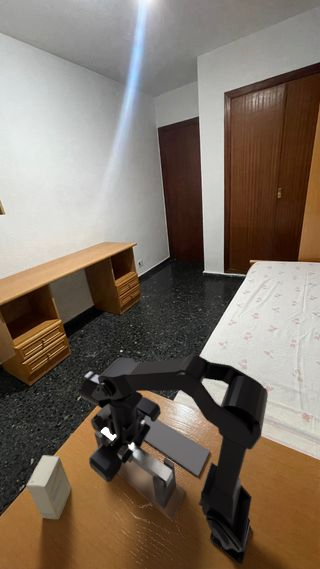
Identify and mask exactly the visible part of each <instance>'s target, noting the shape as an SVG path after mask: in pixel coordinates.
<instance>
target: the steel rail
mask: <svg viewBox="0 0 320 569" xmlns="http://www.w3.org/2000/svg"><path fill="white" fill-rule="evenodd" d="M99 433H101V434H102V435H103V438H104V439H105V440H106V441H107V442H109V443H110V442H111V441H112V440H113V439H114V438H115V437H116V435H115V434H114V435H113V436H112V435H111V434H110V433H109V430H108V429H107V428H105V429H103V430H102V431H101V432H99ZM128 446H129V449H131V450H132V451H133V458H132V461H133V462H134V463H136V464H137V465H138V466H140V467H141V468H142V469H143V470H145V471H146V472H147V473H149V474H150V475H151V476H152V477H154V475H155V476H156V477H158V478H159V479H160V480H162V481H163V482H164V486H165V487H168V485H169V483H170V482H171V480H172V478H173V473H172V470H171V469H170V468H168V467H167V466H165V465H164V462H161V461H160V460H158V459H157V458H156V457H154V456H153V455H151V454H150V453H149V452H148V451H146V450H144V449H143V448H142V447H141V448H140V447H139V446H138V445H136V444H135V443H132V444H131V445H128Z"/></svg>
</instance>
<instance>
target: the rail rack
mask: <svg viewBox="0 0 320 569" xmlns="http://www.w3.org/2000/svg"><path fill="white" fill-rule="evenodd" d="M94 437H95V441H96V444H97V446H96V448H95V449H94V450H93V453H94V452H95V451H96V450H97V449H98V447H99V446H100V445H101V444H104V445H106V446H108V445H109V444H110V443H109V442H107V441H106V440H105V439H104V438H103V435H102V434H101V433H99V432H98V431H96V430H95V432H94ZM162 463H163V464H164V465H165V466H167V467H168V468H170V469H171V470H172V473H173V478H172V480H171V482H170V483H169V485H168V487H165V486H164V482H163V481H162V480H160V479H159V478H158V477H156V476H155V475H154V477H152V476H151V475H150V474H149V473H147V472H146V471H145V470H143V469H142V468H141V467H140V466H138V465H137V464H136V463H134V462H133V461H131V463H130V462H128V461H127V462H126V463H125V464H123V463H122V465H121V468H120V470H119V471H118V473H117V474H116V475H118V476H119V477H120V478H121V479H123V481H125V482H126V483H127V484H128V485H129V486H130V487H132V489H134V490H135V491H136V492H137V493H139V494H140V496H142V497H143V498H144V499H146V500H147V501H148V502H149V503H150V504H151V505H152V506H153V507H155V508H156V509H157V510H158V511H160V513H162V515H164V516H165V517H166V518H167V519H169V520H170V521H171V522H174V520H175V518H176V515H177V514H178V511H179V509H180V507H181V505H182V503H183V500H184V498H185V496H186V494H187V490H186V489H185V488H184V487H182V486H181V485H179V484H178V483H177V481H176V478H177V477H176V470H175V463H174V461H171V460H169V459H168V458H167V457H164V458H163V462H162Z"/></svg>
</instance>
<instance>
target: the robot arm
mask: <svg viewBox="0 0 320 569" xmlns="http://www.w3.org/2000/svg"><path fill="white" fill-rule="evenodd" d="M83 379H84V381H83V382H82V384H81V386H80V392H79V396H80V397H81V398H82V399H84V400H86V401H87V402H90V403H91V404H93V405H95V406H97V407H99V408H100V409H99V410H98V412H96V414H95V415H94V416H93V417H91V419H90V423H91V426H92V428H93V429H94V431H95V432H96V431H98V432H101V431H102V430H103V429H105V428H107V429H108V430H109V433H110V434H111V435H112V436H113V435H114V434H115V435H116V437H115V438H114V439H113V440H112V441H111V442H110V444H109V445H108V446H106V445H104V444H101V445H100V446H99V447H98V449H97V450H96V451H95V452H93V453H92V454H91V455H90V457H89V458H88V459H89V462H88V464H89V466H90V468H91V469H92V470H93V471H94V472H95V473H96V474H97V475H99V476H100V477H101V478H102V479H103V480H104V481H105V482H106V483H110V482H111V483H112V481H113V479H114V478H115V477H116V475H118V474H117V473H118V471H119V470H120V468H121V465H122V463H123V464H125V463H126V462H127V461H128V462H130V463H131V461H132V458H133V451H132V450H131V449H129V446H128V445H131V444H132V443H135V444H136V445H138V446H139V447H140V448H142V446H143V443H145V438H146V436H147V434H148V432H149V431H150V426H149V425H147V424H146V422H145V419H144V418H145V417H146V415H147V416H148V417H150V418H151V421H152V422H155V421H156V419H158V418H159V417H160V415H161V413H162V412H161V406H160V405H159V403H157V402H155V401H153V400H152V399H150V398H148V397H145V396H143V395H142V393H141V392H145V391H147V392H149V391H150V392H153V391H154V392H155V391H157V392H158V391H159V392H160V391H162V392H163V391H166V392H167V391H171V392H172V391H175V392H177V391H180V392H183V393H184V394H185V395H187V396H189V398H192V400H193V402H194V403H195V405H196V407H197V408H198V409H199V411H200V412H201V414H202V416H203V418H205V420H206V421H207V422H209V423H210V424H212V425H213V426H215V427H216V428H217V430H218V433H219V435H220V436H221V437H222V440H221V445H220V451H219V455H218V460H217V464H215V463H214V462H212V461H211V462H210V464H209V468H208V471H207V474H206V476H205V480H204V482H203V486H202V489H201V491H200V500H199V503H198V505H199V506H200V507H201V511H202V513H203V515H204V516H205V521H206V522H207V524H208V527H209V528H210V530H211V532H210V535H209V539H210V541H211V543H213V544H214V545H215V546H216V547H217V548H219V549H220V550H221V551H223V552H224V553H225V554H226V555H228V556H229V557H230V558H231V559H233V560H234V561H235V562H236V563H237V564H239V565H240V566H242V565H243V563H244V562H243V561H244V558H245V554H246V550H247V545H248V541H249V537H250V533H251V518H249V516H250V509H251V504H252V503H251V502H252V496H251V495H250V493H249V492H248V491H247V490H246V489H245V487H244V486H243V484H241V482H242V481H241V478H240V475H241V470H242V467H243V464H244V460H245V456H246V453H247V451H248V450H250V451H251V450H252V449H253V448H254V447H255V445H257V443H258V442H259V440H260V438H261V437H262V432H263V428H264V420H265V414H266V408H267V402H268V398H269V393H268V389H267V388H265V387H264V385H262V383H260V382H259V381H258V380H256V379H255V378H253V377H251V376H249V375H248V374H246V373H245V372H243V371H241V370H239V369H237V368H236V367H234V366H232V365H230V364H225V363H224V364H223V363H218V362H212V361H209V360H207V359H206V358H204V357H202V356H200V355H198V354H190V355H188V356H187V357H179V358H172V359H171V358H170V359H162V360H154V361H147V362H146V361H145V362H136V360H135V359H134V358H132V357H131V358H130V357H118V358H117V359H115V360H114V361H113V362H112V363H111V364H110V365H109V366H108V367H107V368H106V369H105V370H104V371H103V372H102V373H101V374H100V375H99V374H96V373H95V372H94V371H91V370H90V371H89V372H87V373H86V374H85V375H84V376H83ZM204 379H206V380H211V381H219V382H223V383H225V384H226V385H227V387H226V390H225V392H224V393H225V394H224V395H223V398H222V401H221V403H220V405H219V404H218V403H217V402H216V401H215V399H214V398H213V397H212V395H211V393H210V392H209V391H208V390H207V388H206V387H205V386H204V384H203V381H204ZM139 391H140V392H139ZM212 537H213V538H212Z"/></svg>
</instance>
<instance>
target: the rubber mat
mask: <svg viewBox="0 0 320 569" xmlns="http://www.w3.org/2000/svg"><path fill="white" fill-rule="evenodd" d="M144 419H145V422H146V424H147V425H149V426H150V431H149V432H148V434H147V436H146V438H145V440H144V442H146V443H147V444H149V445H151V446H152V447H153V448H155V450H157V451H159V452H160V453H162V454H164V455H165V456H167V457H168V458H169V459H171V460H172V461H173V462H176V463H177V464H178V465H179V466H181V467H182V468H184V469H186V471H189V472H190V473H191V474H193V475H195V477H197V478H199V476H200V475H201V472H202V470H203V468H204V465H205V464H206V461H207V459H208V456H209V455H210V453H211V452H210V451H211V450H209V448H206V447H205V446H203V445H201V444H199V443H198V442H196V441H195V440H193V439H192V438H190V437H187V436H186V435H185V434H183V433H181V432H179V431H177V429H174V428H172V427H171V426H169V425H167V424H166V423H164V422H162V421H160V420H159V419H158V418H157V419H156V421H155V422H152V421H151V418H150V417H148V416H147V415H146V417H145V418H144Z"/></svg>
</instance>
